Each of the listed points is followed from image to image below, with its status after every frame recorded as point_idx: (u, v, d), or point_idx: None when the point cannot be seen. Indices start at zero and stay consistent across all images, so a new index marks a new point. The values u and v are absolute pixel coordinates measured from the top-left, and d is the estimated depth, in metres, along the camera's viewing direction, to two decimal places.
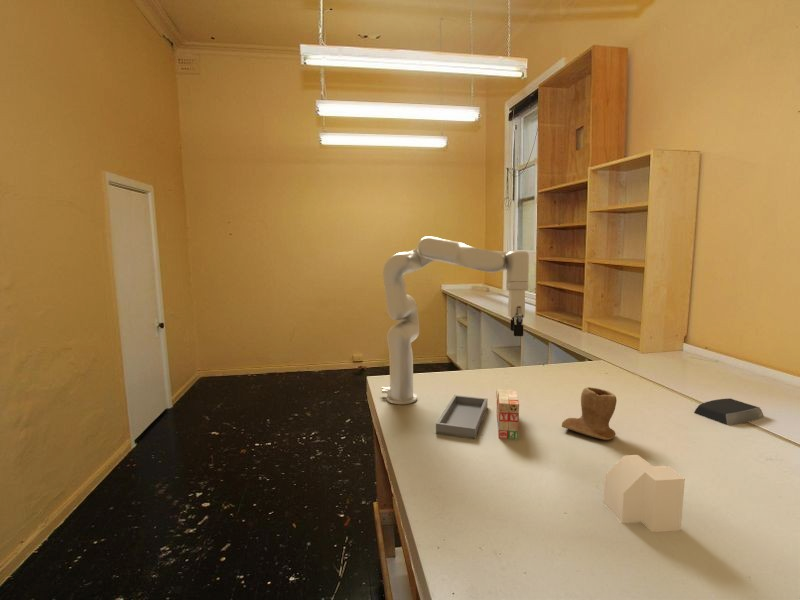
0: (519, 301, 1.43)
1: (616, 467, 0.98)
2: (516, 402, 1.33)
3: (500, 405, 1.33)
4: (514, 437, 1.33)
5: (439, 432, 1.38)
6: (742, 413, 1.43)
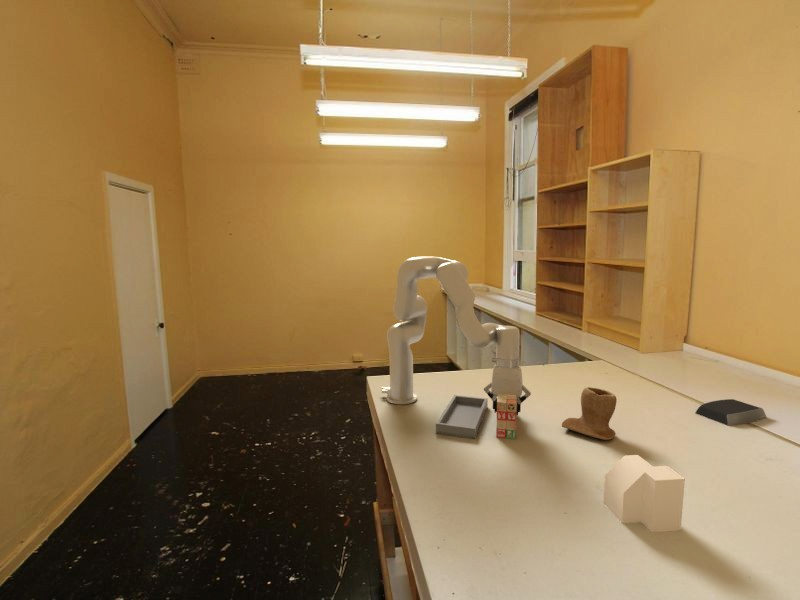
0: None
1: (616, 467, 0.98)
2: (514, 401, 1.34)
3: (498, 404, 1.33)
4: (512, 436, 1.34)
5: (439, 432, 1.38)
6: (743, 414, 1.43)
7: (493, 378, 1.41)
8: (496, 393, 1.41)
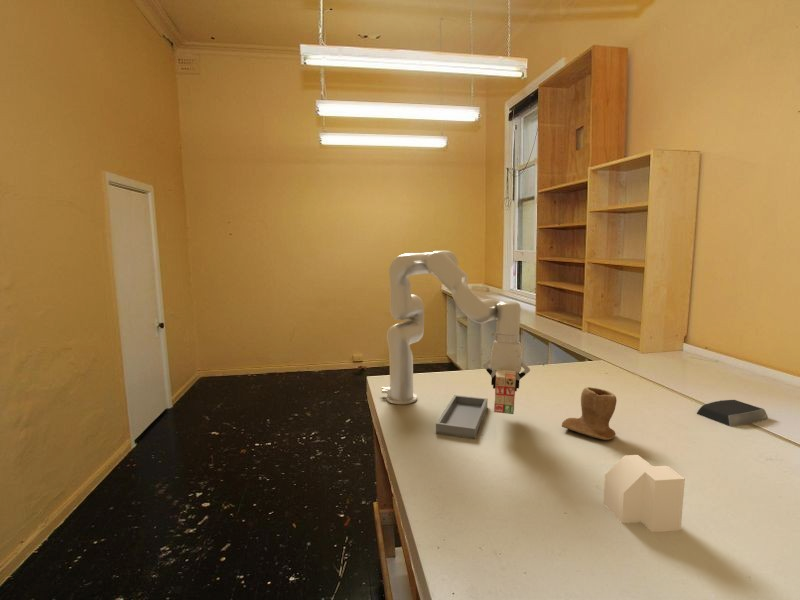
0: None
1: (616, 467, 0.98)
2: (513, 376, 1.33)
3: (496, 379, 1.33)
4: (510, 411, 1.33)
5: (439, 432, 1.38)
6: (745, 414, 1.42)
7: (492, 354, 1.40)
8: (495, 369, 1.40)
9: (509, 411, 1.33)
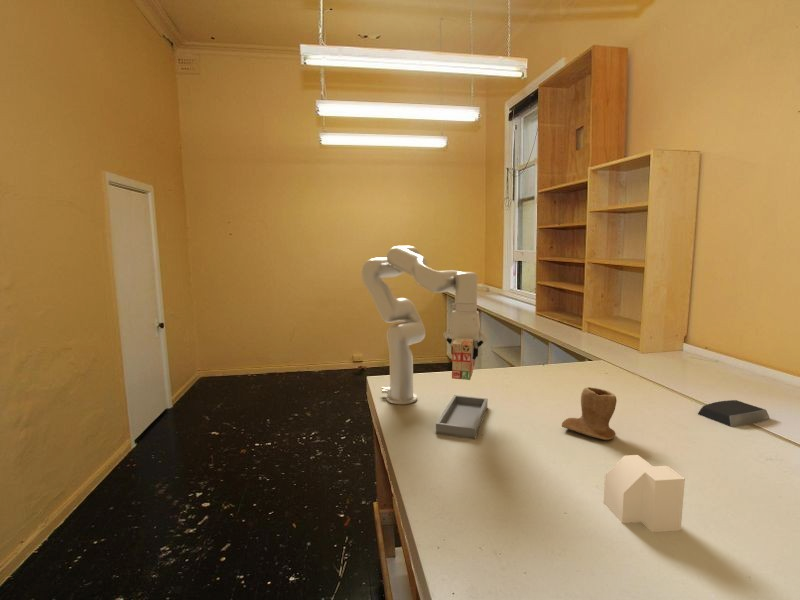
0: (479, 322, 1.43)
1: (616, 467, 0.98)
2: (469, 343, 1.36)
3: (453, 345, 1.36)
4: (467, 377, 1.37)
5: (439, 432, 1.38)
6: (746, 415, 1.42)
7: (451, 323, 1.44)
8: (454, 337, 1.44)
9: (466, 377, 1.37)
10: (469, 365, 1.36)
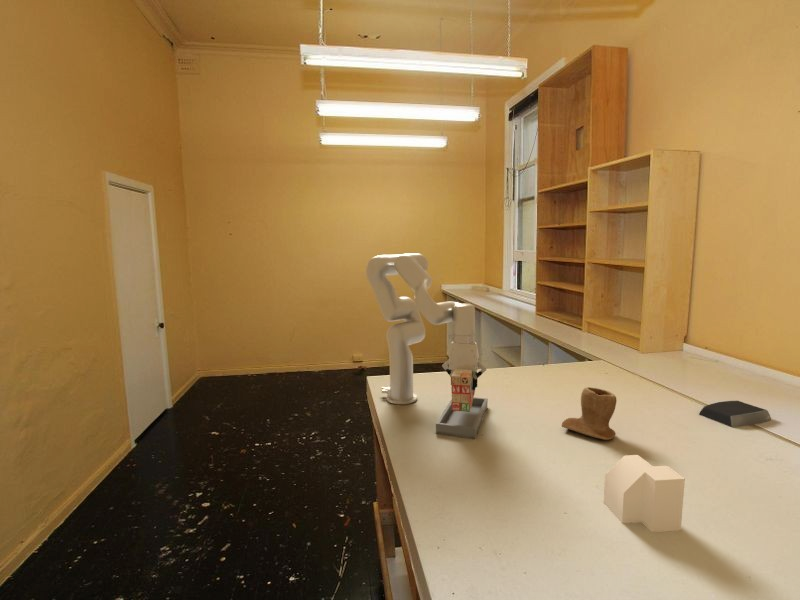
0: None
1: (616, 467, 0.98)
2: (468, 375, 1.38)
3: (452, 378, 1.38)
4: (466, 409, 1.38)
5: (439, 432, 1.38)
6: (747, 415, 1.42)
7: (450, 354, 1.45)
8: (453, 369, 1.45)
9: (465, 409, 1.38)
10: (468, 397, 1.37)
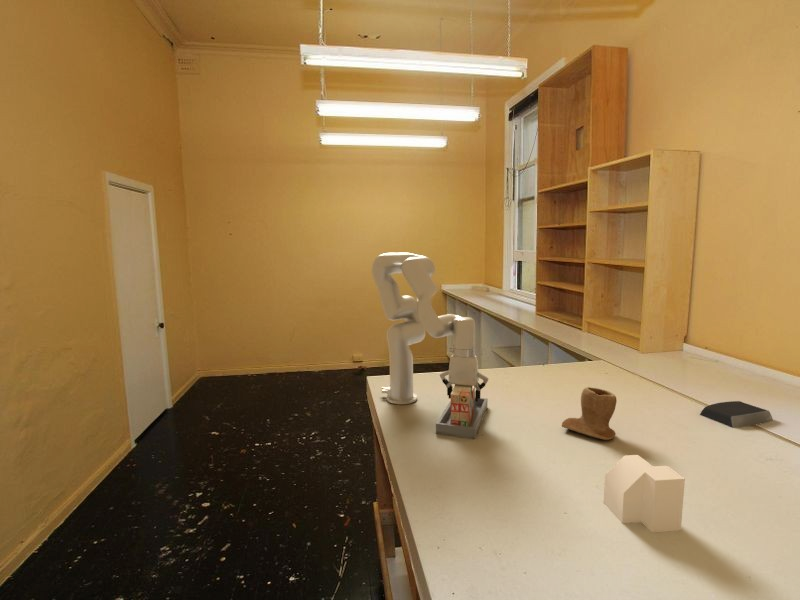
0: (477, 366, 1.45)
1: (616, 467, 0.98)
2: (467, 394, 1.39)
3: (451, 396, 1.39)
4: None
5: (439, 432, 1.38)
6: (748, 416, 1.41)
7: (450, 367, 1.46)
8: (453, 382, 1.46)
9: None
10: (467, 415, 1.38)
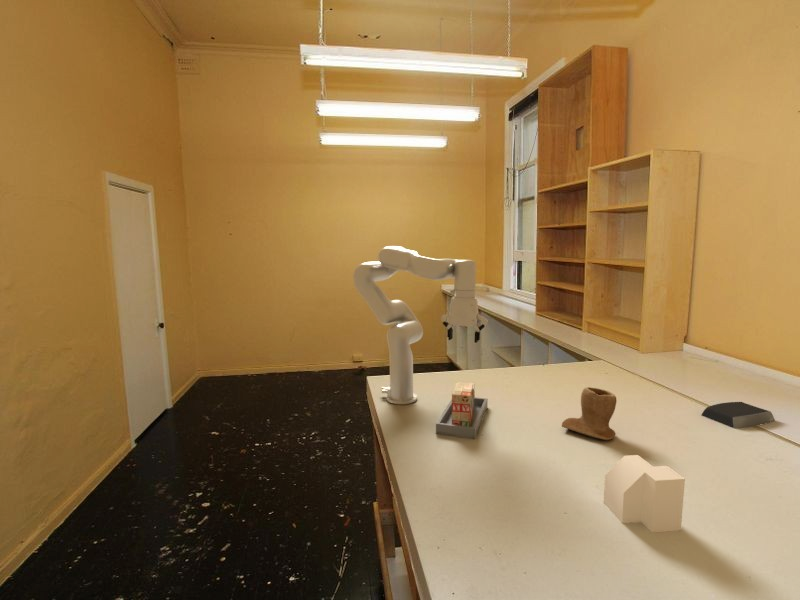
0: (477, 308, 1.48)
1: (616, 467, 0.98)
2: (468, 394, 1.39)
3: (453, 396, 1.39)
4: None
5: (439, 432, 1.38)
6: (750, 416, 1.41)
7: (450, 309, 1.49)
8: (453, 323, 1.49)
9: None
10: (468, 415, 1.38)
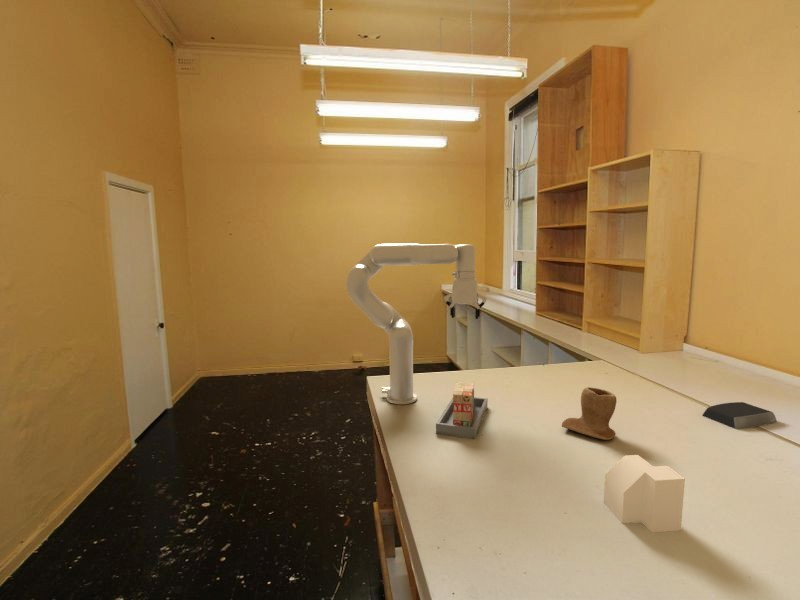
0: (477, 287, 1.64)
1: (616, 467, 0.98)
2: (470, 393, 1.39)
3: (454, 396, 1.39)
4: None
5: (439, 432, 1.38)
6: (751, 417, 1.40)
7: (453, 289, 1.64)
8: (455, 302, 1.64)
9: None
10: (470, 415, 1.38)
